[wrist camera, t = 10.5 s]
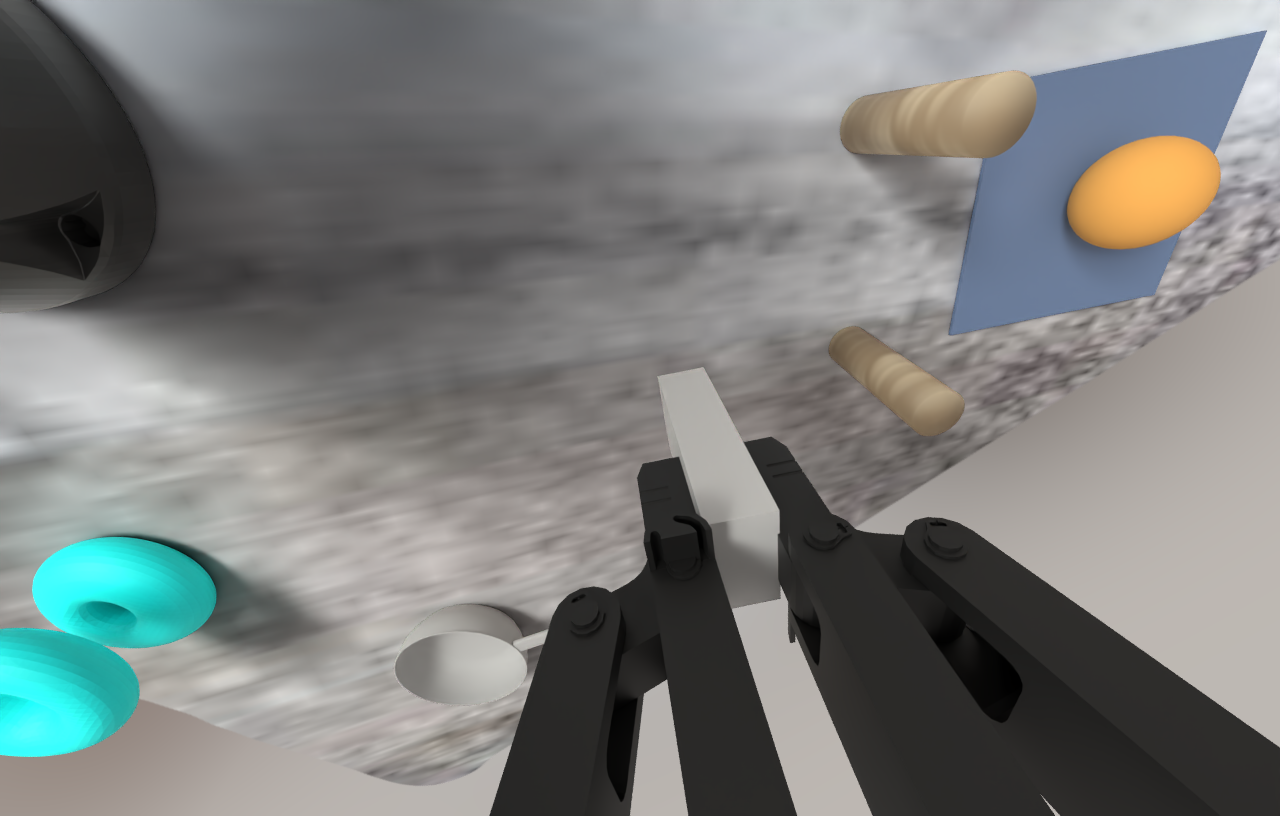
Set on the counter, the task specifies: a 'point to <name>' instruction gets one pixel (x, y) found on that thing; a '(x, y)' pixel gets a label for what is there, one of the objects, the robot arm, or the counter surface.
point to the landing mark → (1058, 156)
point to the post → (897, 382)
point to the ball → (1143, 192)
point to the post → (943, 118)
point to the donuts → (93, 640)
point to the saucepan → (465, 656)
